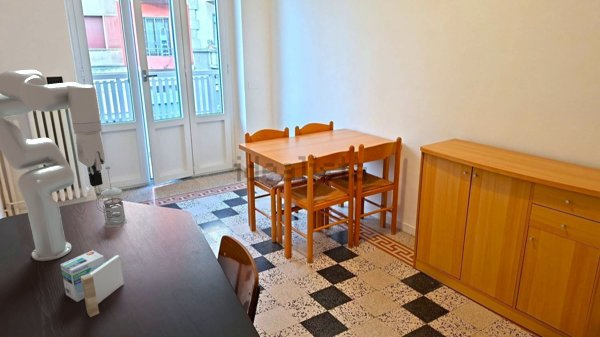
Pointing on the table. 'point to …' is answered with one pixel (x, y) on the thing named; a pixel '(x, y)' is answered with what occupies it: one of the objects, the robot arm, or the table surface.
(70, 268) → the light bulb box
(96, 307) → the tan wooden blocky piece
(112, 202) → the french press
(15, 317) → the table surface
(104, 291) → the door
